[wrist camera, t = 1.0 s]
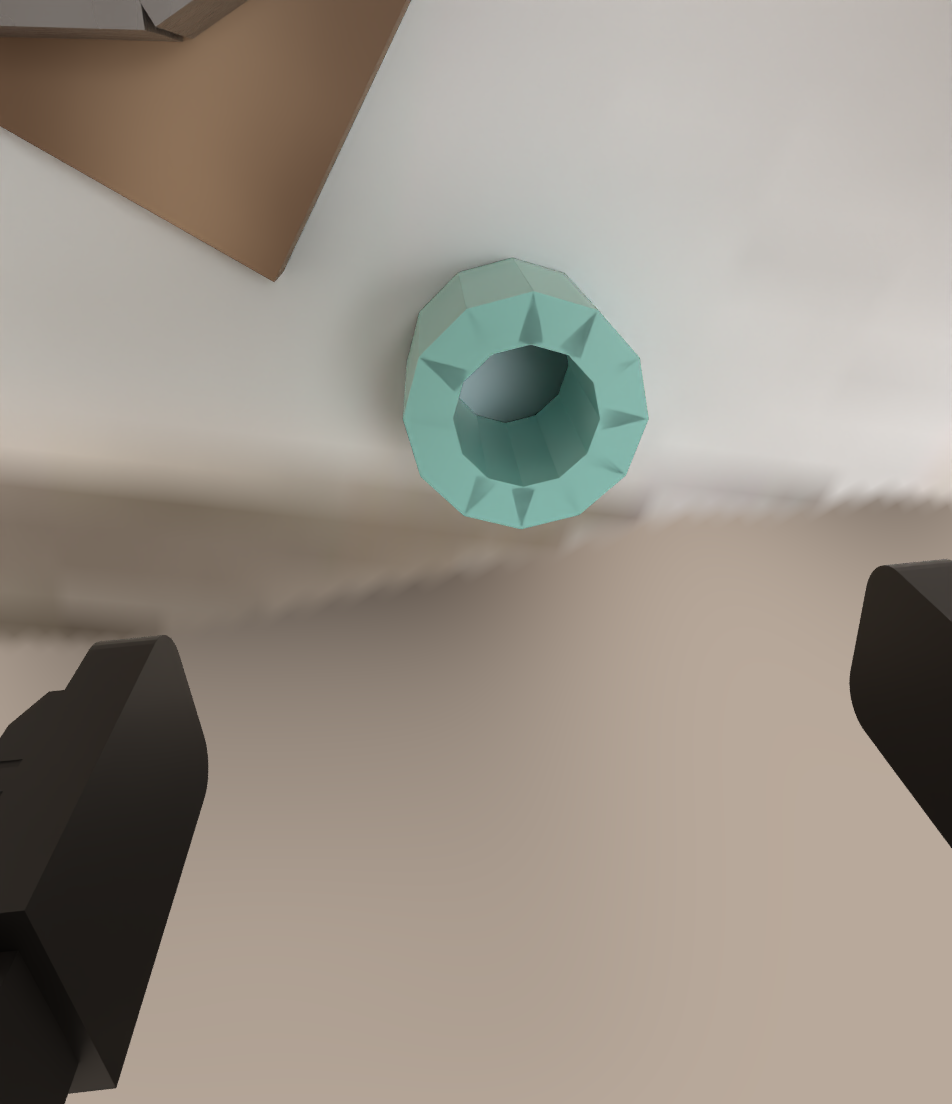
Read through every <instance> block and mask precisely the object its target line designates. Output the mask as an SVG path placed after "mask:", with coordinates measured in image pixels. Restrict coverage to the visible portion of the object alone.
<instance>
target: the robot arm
mask: <svg viewBox="0 0 952 1104" xmlns="http://www.w3.org/2000/svg"><path fill="white" fill-rule="evenodd" d="M850 694H851V700H852V704H853V708H854V711H855V714H856V716H857V719H858V721H859V723H860V725H861V726H862V728H863V729H864V731H865V732H866V733H867V735H868V736H869V738H870V739H871V740H872V742H873V743H874V744H875V746H876V747H877V748H878V750H879V751H880V752H881V754H882V755H883V756H884V758H885V759H886V761H887V762H888V763H889V765H890V766H891V767H892V768H893V770H894V771H895V773H896V774H897V775H898V777H899V778H900V779H901V781H902V782H903V783H904V785H905V786H906V787H907V789H908V790H909V791H910V793H911V794H912V795H913V797H914V798H915V800H916V801H917V802H918V803H919V805H920V806H921V808H922V809H923V810H924V812H925V813H926V814H927V816H928V817H929V818H930V820H931V821H932V822H933V824H934V825H935V826H936V828H937V829H938V830H939V832H940V833H941V835H942V836H943V837H944V838H945V840H946V841H947V842H948V844H949V845H950V847H951V848H952V561H951V560H947V559H943V560H933V561H923V562H913V563H903V564H894V565H884V566H880V567H878V568H876V569H875V570H874V571H873V572H872V574H871V575H870V578H869V580H868V583H867V587H866V592H865V597H864V602H863V608H862V613H861V618H860V624H859V629H858V635H857V640H856V645H855V650H854V655H853V661H852V666H851V671H850ZM207 782H208V754H207V747H206V742H205V738H204V735H203V731H202V728H201V724H200V721H199V718H198V715H197V711H196V708H195V705H194V702H193V698H192V695H191V692H190V688H189V685H188V682H187V679H186V675H185V673H184V669H183V665H182V662H181V659H180V656H179V653H178V650H177V647H176V645H175V643H174V642H173V640H172V639H171V638H170V637H168V636H166V635H161V636H151V637H141V638H131V639H121V640H111V641H101V642H97V643H95V644H94V645H93V646H92V647H91V648H90V649H89V651H88V652H87V654H86V656H85V657H84V659H83V661H82V662H81V664H80V666H79V667H78V669H77V671H76V672H75V674H74V676H73V677H72V679H71V680H70V682H69V684H68V685H67V687H66V689H65V690H61V691H52V692H48V693H47V694H46V695H45V696H43V697H42V698H41V699H40V700H38V701H37V702H36V703H35V704H34V705H32V706H31V707H30V708H29V709H28V710H26V711H25V712H24V713H23V714H22V715H20V716H19V717H18V718H17V719H16V720H14V721H13V722H12V723H11V724H10V725H9V726H8V727H7V728H6V730H5V732H4V733H3V735H2V736H1V738H0V1104H64V1103H65V1101H66V1098H67V1095H68V1094H70V1093H78V1092H87V1091H95V1090H104V1089H113V1088H116V1087H117V1083H118V1080H119V1077H120V1074H121V1071H122V1067H123V1064H124V1061H125V1057H126V1054H127V1051H128V1048H129V1044H130V1041H131V1038H132V1034H133V1031H134V1027H135V1024H136V1021H137V1018H138V1014H139V1011H140V1008H141V1005H142V1002H143V998H144V995H145V992H146V988H147V985H148V982H149V978H150V975H151V972H152V968H153V965H154V962H155V959H156V956H157V952H158V949H159V946H160V942H161V939H162V936H163V933H164V929H165V926H166V923H167V919H168V916H169V912H170V910H171V906H172V903H173V899H174V896H175V893H176V890H177V887H178V883H179V880H180V877H181V873H182V870H183V866H184V863H185V860H186V857H187V854H188V850H189V847H190V844H191V840H192V837H193V834H194V831H195V827H196V824H197V821H198V818H199V814H200V811H201V808H202V804H203V801H204V798H205V794H206V789H207Z"/></svg>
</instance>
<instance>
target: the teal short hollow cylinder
mask: <svg viewBox="0 0 952 1104" xmlns="http://www.w3.org/2000/svg"><path fill="white" fill-rule="evenodd" d="M527 345H534V346H538V347H541V348H545V349H548V350H552V351H555V352H559V353H563V354H566V355H567V360H568V368H567V371H566V374H565V376H564V379H563V382H562V385H561V388H560V391H559V394H558V395H557V396H556V397H555V398H554V399H553V400H552V401H551V402H549V403H548V404H547V405H546V406H545V407H544V408H543V409H542V410H541V411H540V412H539V413H537V414H536V415H535V416H531V417H527V418H523V419H519V420H515V421H511V422H507V423H504V422H500V421H496V420H493V419H489V418H485V417H481V416H477V415H476V414H475V413H474V412H473V411H472V410H471V409H470V408H469V407H468V406H467V405H466V404H465V403H464V402H463V401H462V400H461V399H460V398H459V395H460V392H461V388H462V385H463V382H464V381H465V380H466V379H467V378H468V377H469V376H470V375H471V374H473V373H474V372H475V371H476V370H477V369H478V368H479V367H480V366H481V365H482V364H483V363H484V362H485V361H486V360H487V359H488V358H489V357H490V356H491V355H493V354H497V353H501V352H505V351H508V350H512V349H516V348H520V347H524V346H527ZM648 419H649V418H648V411H647V405H646V398H645V391H644V384H643V378H642V371H641V364H640V358H639V357H638V356H637V354H636V353H635V352H634V351H633V350H632V349H631V347H630V346H629V345H628V344H627V343H626V342H625V341H624V339H623V338H622V337H621V336H620V335H619V334H618V333H617V331H616V330H615V329H614V328H613V327H612V326H611V324H610V323H609V322H608V321H607V320H606V319H605V318H604V316H603V315H602V314H601V313H600V312H599V311H598V310H597V308H596V307H595V306H594V305H593V304H592V303H591V302H590V301H589V300H588V299H587V297H586V296H585V295H584V294H583V293H582V292H581V291H580V290H579V289H578V287H577V286H576V285H575V284H574V283H573V282H572V281H571V280H570V279H569V278H568V276H567V275H566V274H565V273H562V272H558V271H555V270H552V269H548V268H545V267H541V266H538V265H535V264H531V263H528V262H525V261H521V260H518V259H515V258H510V259H506V260H502V261H499V262H495V263H491V264H487V265H484V266H480V267H476V268H473V269H469V270H465V271H461V272H458V273H457V274H456V275H455V276H454V277H453V278H452V279H451V280H450V281H449V282H448V283H447V284H446V285H445V286H444V287H443V288H442V290H441V291H440V292H439V293H438V294H437V295H436V296H435V297H434V298H433V299H432V300H431V301H430V302H429V303H428V304H427V305H426V306H425V307H424V308H423V309H422V310H421V311H420V312H419V316H418V320H417V324H416V328H415V332H414V336H413V340H412V344H411V348H410V352H409V356H408V360H407V364H406V377H405V394H404V410H403V421H404V424H405V427H406V431H407V434H408V437H409V441H410V444H411V447H412V450H413V454H414V457H415V460H416V463H417V467H418V470H419V473H420V476H421V477H422V478H423V479H424V480H425V481H426V482H427V483H428V484H429V485H430V486H432V487H433V488H434V489H435V490H436V491H437V492H438V493H439V494H440V495H441V496H443V497H444V498H445V499H446V500H447V501H448V502H449V503H450V504H451V505H453V506H454V507H455V508H456V509H457V510H458V511H459V512H460V513H461V514H462V515H464V516H467V517H471V518H476V519H480V520H484V521H488V522H493V523H497V524H501V525H505V526H510V527H514V528H518V529H524V528H528V527H532V526H536V525H540V524H544V523H548V522H552V521H556V520H560V519H564V518H568V517H573V516H577V515H580V514H581V513H582V512H583V511H584V510H586V509H587V508H588V507H589V506H590V505H592V504H593V503H594V502H595V501H596V500H597V499H599V498H600V497H601V496H602V495H603V494H604V493H606V492H607V491H608V490H609V489H610V488H612V487H613V486H614V485H615V484H616V483H617V482H619V481H620V480H621V479H622V478H623V477H625V476H626V474H627V471H628V469H629V466H630V464H631V461H632V459H633V456H634V454H635V451H636V449H637V446H638V444H639V441H640V439H641V436H642V434H643V431H644V429H645V427H646V424H647V422H648Z"/></svg>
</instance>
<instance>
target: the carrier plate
mask: <svg viewBox="0 0 952 1104" xmlns="http://www.w3.org/2000/svg"><path fill="white" fill-rule="evenodd" d="M410 1H411V0H248V1H247V2H245V3H244V4H242V5H241V6H239V7H238V8H237V9H235V10H234V11H232V12H231V13H229V14H228V15H227V16H225V17H224V18H222V19H221V20H219V21H218V22H217V23H215V24H214V25H212V26H211V27H209V28H208V29H207V30H205V31H204V32H202V33H201V34H199V35H198V36H197V37H195V38H194V39H191V38H188V37H185V36H183V42H168V41H132V40H96V39H60V38H24V37H0V126H1V127H3V128H5V129H6V130H8V131H10V132H12V133H13V134H15V135H17V136H19V137H20V138H22V139H24V140H26V141H27V142H29V143H31V144H33V145H34V146H36V147H38V148H40V149H41V150H43V151H45V152H47V153H48V154H50V155H52V156H54V157H55V158H57V159H59V160H61V161H62V162H64V163H66V164H68V165H70V166H71V167H73V168H75V169H77V170H78V171H80V172H82V173H84V174H85V175H87V176H89V177H91V178H92V179H94V180H96V181H98V182H99V183H101V184H103V185H105V186H106V187H108V188H110V189H112V190H113V191H115V192H117V193H119V194H120V195H122V196H124V197H126V198H127V199H129V200H131V201H133V202H134V203H136V204H138V205H140V206H142V207H143V208H145V209H147V210H149V211H150V212H152V213H154V214H156V215H157V216H159V217H161V218H163V219H164V220H166V221H168V222H170V223H171V224H173V225H175V226H177V227H178V228H180V229H182V230H184V231H185V232H187V233H189V234H191V235H192V236H194V237H196V238H198V239H199V240H201V241H203V242H205V243H207V244H208V245H210V246H212V247H214V248H215V249H217V250H219V251H221V252H222V253H224V254H226V255H228V256H229V257H231V258H233V259H235V260H236V261H238V262H240V263H242V264H243V265H245V266H247V267H249V268H250V269H252V270H254V271H256V272H257V273H259V274H261V275H263V276H264V277H266V278H268V279H270V280H271V281H273V282H275V281H276V280H277V278H278V277H279V276H280V275H281V274H282V273H283V271H284V269H285V267H286V265H287V262H288V260H289V258H290V256H291V254H292V252H293V250H294V248H295V245H296V243H297V241H298V239H299V237H300V235H301V233H302V231H303V228H304V226H305V224H306V222H307V220H308V218H309V216H310V214H311V212H312V209H313V207H314V205H315V203H316V201H317V199H318V197H319V195H320V192H321V190H322V188H323V186H324V184H325V182H326V180H327V178H328V175H329V173H330V171H331V169H332V167H333V165H334V163H335V161H336V158H337V156H338V154H339V152H340V150H341V148H342V146H343V144H344V142H345V139H346V137H347V135H348V133H349V131H350V129H351V127H352V125H353V122H354V120H355V118H356V116H357V114H358V112H359V110H360V108H361V105H362V103H363V101H364V99H365V97H366V95H367V93H368V91H369V88H370V86H371V84H372V82H373V80H374V78H375V76H376V74H377V71H378V69H379V67H380V65H381V63H382V61H383V59H384V57H385V55H386V52H387V50H388V48H389V46H390V44H391V42H392V40H393V38H394V35H395V33H396V31H397V29H398V27H399V25H400V23H401V21H402V18H403V16H404V14H405V12H406V10H407V8H408V6H409V4H410Z"/></svg>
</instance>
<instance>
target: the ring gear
mask: <svg viewBox="0 0 952 1104" xmlns="http://www.w3.org/2000/svg"><path fill="white" fill-rule="evenodd" d="M247 1H248V0H0V37H24V38H60V39H96V40H132V41H168V42H183V36H185V37H188V38H191V39H194V38H195V37H197V36H198V35H199V34H201V33H202V32H204V31H205V30H207V29H208V28H209V27H211V26H212V25H214V24H215V23H217V22H218V21H219V20H221V19H222V18H224V17H225V16H227V15H228V14H229V13H231V12H232V11H234V10H235V9H237V8H238V7H239V6H241V5H242V4H244V3H245V2H247Z"/></svg>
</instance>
